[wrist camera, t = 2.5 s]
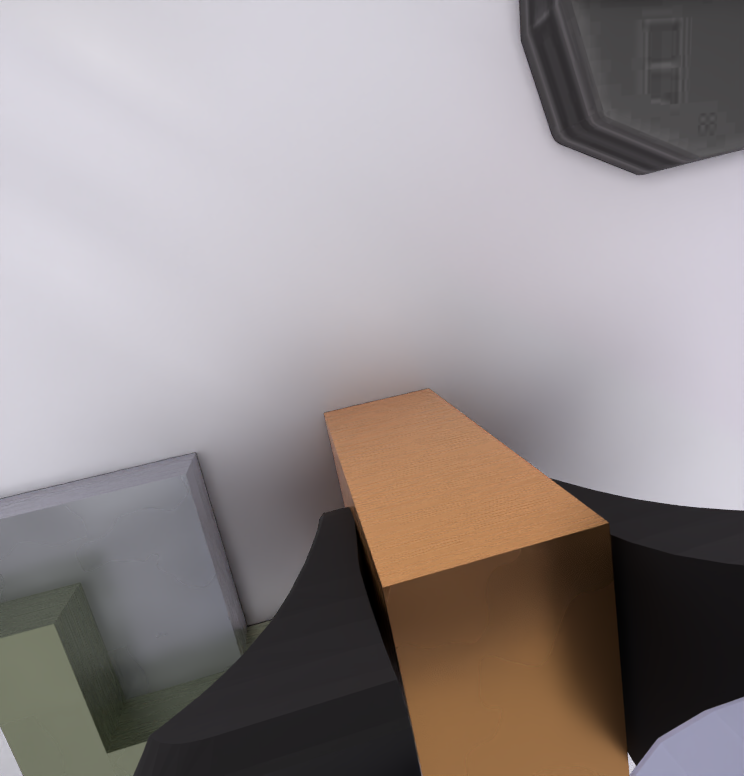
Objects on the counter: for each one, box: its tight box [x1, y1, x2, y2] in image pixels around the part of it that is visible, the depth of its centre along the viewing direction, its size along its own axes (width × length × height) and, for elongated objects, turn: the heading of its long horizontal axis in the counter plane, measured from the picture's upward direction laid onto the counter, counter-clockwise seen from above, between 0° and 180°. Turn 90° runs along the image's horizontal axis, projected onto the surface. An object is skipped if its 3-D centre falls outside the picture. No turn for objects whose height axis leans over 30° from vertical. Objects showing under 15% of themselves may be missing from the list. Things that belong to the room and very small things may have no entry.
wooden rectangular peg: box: [324, 388, 629, 776], centre depth 11 cm, size 4×3×8 cm, turn 11°
